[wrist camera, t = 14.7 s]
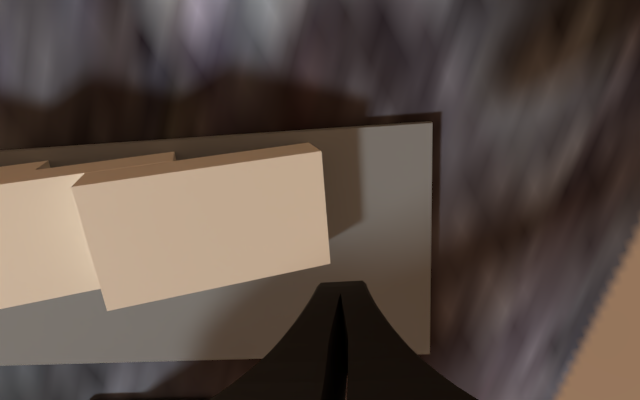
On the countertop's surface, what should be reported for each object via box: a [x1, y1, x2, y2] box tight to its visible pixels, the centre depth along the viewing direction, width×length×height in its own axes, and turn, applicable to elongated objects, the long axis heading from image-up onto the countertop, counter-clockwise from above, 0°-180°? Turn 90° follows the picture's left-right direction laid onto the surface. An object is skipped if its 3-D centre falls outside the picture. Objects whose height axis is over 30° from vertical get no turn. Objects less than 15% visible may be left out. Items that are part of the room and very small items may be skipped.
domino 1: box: [0, 152, 176, 309], centre depth 18 cm, size 2×5×9 cm
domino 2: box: [71, 143, 330, 311], centre depth 17 cm, size 2×5×9 cm
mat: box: [0, 121, 433, 366], centre depth 21 cm, size 12×33×1 cm, turn 94°
